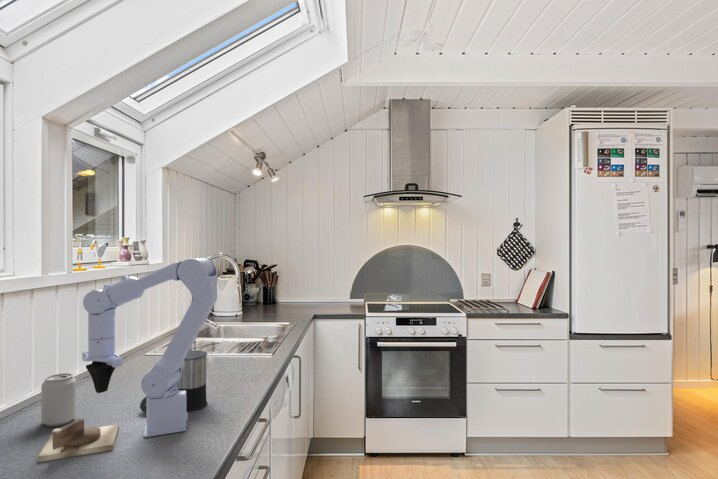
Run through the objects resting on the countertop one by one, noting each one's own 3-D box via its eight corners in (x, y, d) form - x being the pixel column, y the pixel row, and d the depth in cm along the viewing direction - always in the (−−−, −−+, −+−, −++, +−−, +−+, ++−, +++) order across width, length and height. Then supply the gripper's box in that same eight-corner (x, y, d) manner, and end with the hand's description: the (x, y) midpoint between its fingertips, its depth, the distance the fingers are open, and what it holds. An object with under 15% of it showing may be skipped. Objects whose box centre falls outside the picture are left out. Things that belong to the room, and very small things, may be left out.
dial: (80, 430, 105) (80, 410, 105) (108, 433, 103) (108, 412, 104) (40, 452, 94) (40, 429, 94) (70, 454, 93) (70, 431, 93)
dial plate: (119, 428, 109) (119, 423, 109) (113, 449, 98) (113, 443, 98) (52, 439, 104) (52, 433, 104) (37, 462, 93) (37, 455, 93)
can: (82, 415, 118) (82, 371, 118) (64, 427, 110) (64, 380, 110) (53, 416, 117) (53, 371, 118) (34, 428, 110) (34, 380, 110)
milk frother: (214, 403, 126) (214, 352, 126) (165, 423, 112) (165, 365, 113) (182, 395, 133) (182, 346, 133) (133, 412, 120) (133, 358, 120)
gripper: (69, 337, 109) (69, 391, 109) (101, 343, 102) (101, 401, 102) (98, 332, 115) (98, 383, 115) (130, 338, 108) (130, 392, 108)
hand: (101, 391), depth 109 cm, fingers closed
